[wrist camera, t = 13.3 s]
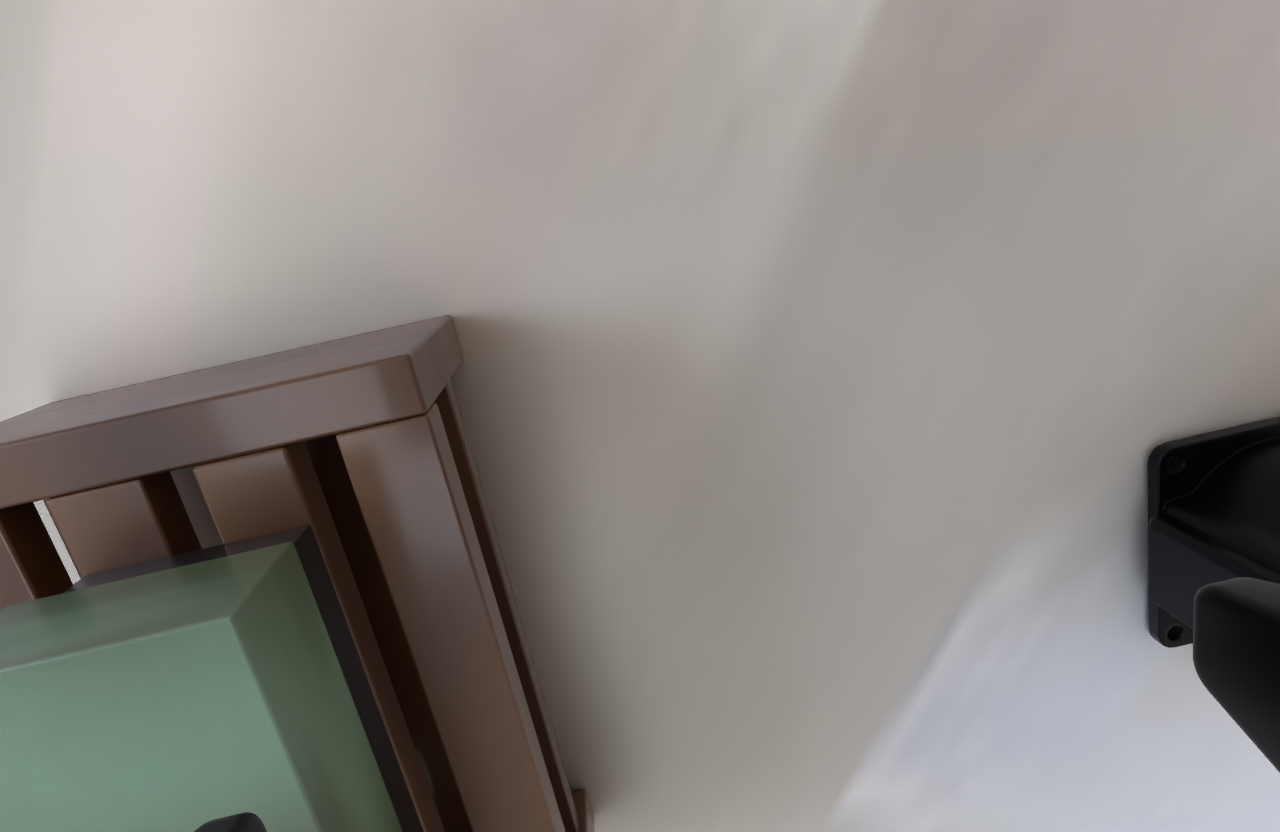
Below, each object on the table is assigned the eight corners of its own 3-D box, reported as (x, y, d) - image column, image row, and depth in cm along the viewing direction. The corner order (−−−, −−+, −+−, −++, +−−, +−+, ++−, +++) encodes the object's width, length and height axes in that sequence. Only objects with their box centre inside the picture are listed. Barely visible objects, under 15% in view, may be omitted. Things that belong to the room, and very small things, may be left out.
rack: (451, 314, 18) (409, 353, 14) (594, 818, 23) (600, 980, 18) (49, 402, 18) (-137, 474, 13) (275, 895, 23) (195, 1079, 18)
